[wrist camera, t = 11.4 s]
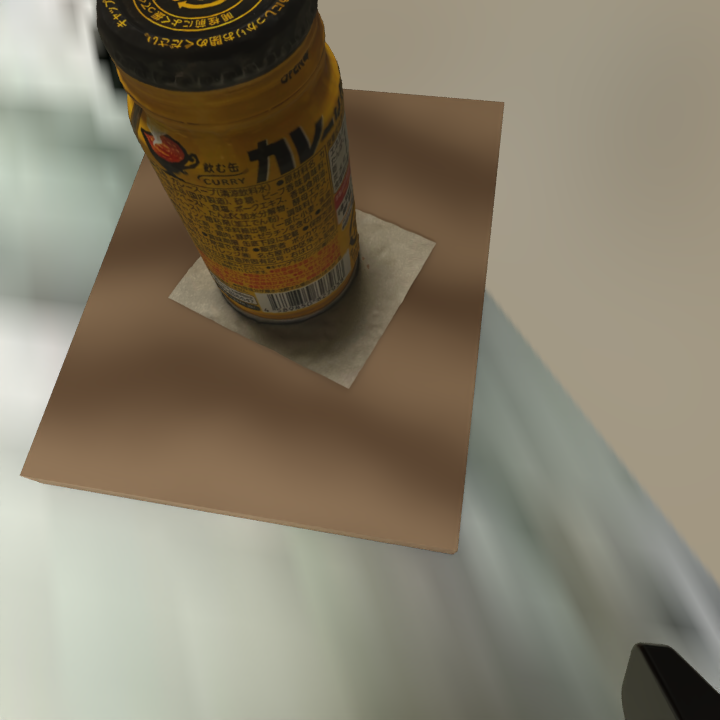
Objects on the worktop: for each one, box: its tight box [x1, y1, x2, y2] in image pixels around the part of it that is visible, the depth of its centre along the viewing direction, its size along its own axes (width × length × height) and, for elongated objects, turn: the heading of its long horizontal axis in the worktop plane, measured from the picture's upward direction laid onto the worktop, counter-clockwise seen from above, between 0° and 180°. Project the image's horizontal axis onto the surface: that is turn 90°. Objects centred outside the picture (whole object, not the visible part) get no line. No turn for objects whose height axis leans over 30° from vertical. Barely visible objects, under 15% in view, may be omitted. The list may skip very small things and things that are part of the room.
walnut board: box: [20, 89, 504, 554], centre depth 25 cm, size 20×16×2 cm
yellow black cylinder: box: [96, 0, 436, 389], centre depth 19 cm, size 7×8×12 cm
